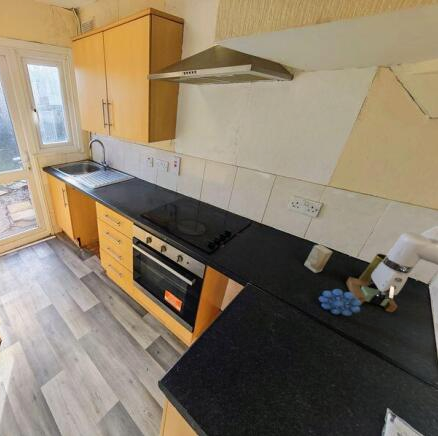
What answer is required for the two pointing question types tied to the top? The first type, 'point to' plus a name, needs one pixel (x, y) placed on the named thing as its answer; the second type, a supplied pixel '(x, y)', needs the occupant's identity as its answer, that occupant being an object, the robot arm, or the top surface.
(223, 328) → the top surface
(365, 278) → the vase
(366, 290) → the light green block
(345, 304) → the grapes
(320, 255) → the cosmetic box
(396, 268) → the robot arm
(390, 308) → the brown wooden u-shaped piece
